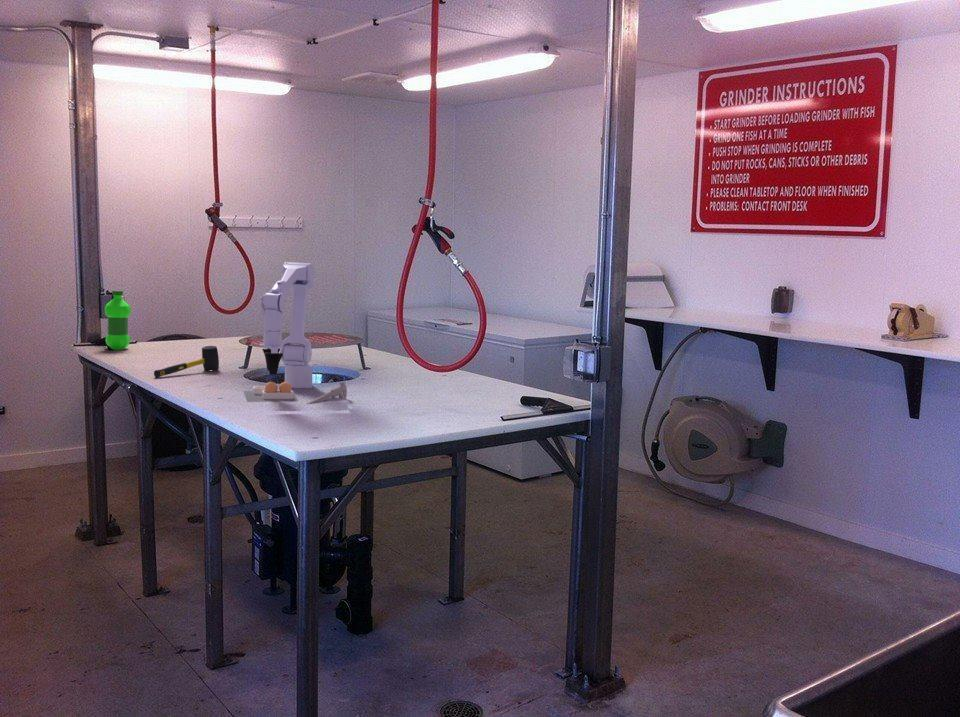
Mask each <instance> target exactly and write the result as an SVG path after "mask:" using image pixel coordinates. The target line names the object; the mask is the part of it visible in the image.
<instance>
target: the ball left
mask: <svg viewBox="0 0 960 717" xmlns="http://www.w3.org/2000/svg"><path fill="white" fill-rule="evenodd" d="M278 386H279V387H278V390H280V392H281V393H285V392H291V390H292V391H293V388H292V386H291V384H290V383H288V382H285V381H283V382H281V383H280V384H279V385H278Z"/></svg>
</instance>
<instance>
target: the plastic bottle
mask: <svg viewBox="0 0 960 717" xmlns="http://www.w3.org/2000/svg"><path fill="white" fill-rule="evenodd" d="M111 293H112V294H111V295H112V296H113V298H112V299H111V300H110V301H108V302H107V303H106V304H105V306H104V315H105V316H107V334H106V336H105V344H106V345H107V346H108V347H109V348H110V349H111V350H118V351H119V350H124V349H125V348H127V347H128V346H129V344H130V342H131V338H130V335H129V332H128V329H129V328H128V327H129V326H128V324H129V323H128V322H129V321H128V320H129V317H130V316H131V314H132V307H131V306H130V304H128V303H127V302H126V301H125V300H124V299H123V296H124V290H112V292H111Z"/></svg>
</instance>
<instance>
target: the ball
mask: <svg viewBox="0 0 960 717" xmlns="http://www.w3.org/2000/svg"><path fill="white" fill-rule="evenodd" d="M264 386H265V391H266V392H267V393H276V392H277V390H279V387H278V384H277V383H276V382H274V381H269V382H267V383H266V384H265V385H264Z"/></svg>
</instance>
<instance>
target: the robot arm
mask: <svg viewBox="0 0 960 717" xmlns="http://www.w3.org/2000/svg"><path fill="white" fill-rule="evenodd" d="M281 275H282V277H281V279H280V280H277V281H276V282H275V283H274V284H273V285H272V288H271V289H270V290H269V292H266V293H264V294H263V295H262V296H261V301H260V307H261V310H262V311H261V312H262V313H261V315H262V316H263V340H262V342H263V343H259V347H260V348H261V347H263V348H262V350H261V351H263V354H264V357H265V364H266V369H267V371H268V372H269V376H270V375H272V376H273V375H277V374H278V370H279V365H280V361H281V362H283V364H284V382H288V383H290V384H291V386H292V389H304V388H305V389H310V388H311V389H312V388H313V365H312V364H311V363H310V361H311V359H312V354H313V353H312V352H313V351H312V343H311V341H310V340H309V339H308V338H307V337H305V328H306V319H307V318H306V317H307V307H308V306H307V305H308V295H309V290H310V289H311V288H313V287H314V281H315V266H314V265H313V263H311V262H309V263H307V262H306V263H305V262H291V261H290V262H289V261H285V262H284V263H283V265H282V267H281ZM292 290H293V297H292V308H291V318H290V319H291V320H290V328H289V329H290V330H289V335H288V336H286V337H285V338H283V312H284V311H285V308H286V303H287V298H289V296H290V294H291V292H292Z"/></svg>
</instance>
